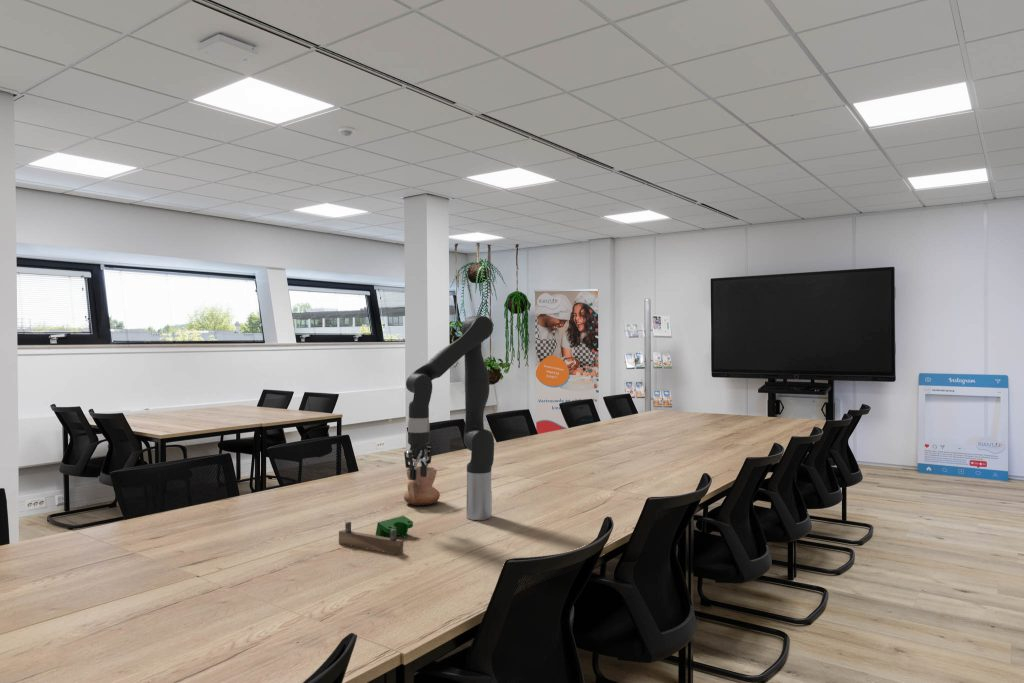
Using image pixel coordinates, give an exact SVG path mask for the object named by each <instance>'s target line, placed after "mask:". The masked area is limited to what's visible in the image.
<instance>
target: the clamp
mask: <svg viewBox="0 0 1024 683" xmlns="http://www.w3.org/2000/svg"><path fill="white" fill-rule="evenodd" d="M376 525H377V526H376V530H375V535H376V536H382V537H387V538H390V530H392V529H396V536H402V537H404V536H405V537H404V538H407V537H408V530H409V529H411V528H413V525H414V521H413V520H411V518H408V517H407V516H405V515H401V516H397V517H392V518H390V519H386V520H382V521H378V522H377V524H376ZM406 536H407V537H406Z"/></svg>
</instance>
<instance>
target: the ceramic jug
mask: <svg viewBox="0 0 1024 683" xmlns="http://www.w3.org/2000/svg"><path fill="white" fill-rule="evenodd" d="M420 466H421V465H419V466H418V465H417V468H416V469H417V471H416V480H411V479H410V469H409V468H406V470H405V471H406V476H407V479H408V481H407V491H406V492H405V493H404V494H403V500H404V501H405V502H406V503H407V504H410V505H412V506H420V505H422V506H430V505H433V504H435V503H436V502H438V500H440V497H441V494H440V491H439V490H438V489H437V488H435V487H433V485H434V481H435V480H436V476H437V471H438V468H437V467H435V466H429V465H428V466H427V476H426V477H421V476H420Z"/></svg>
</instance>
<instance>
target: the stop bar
mask: <svg viewBox="0 0 1024 683" xmlns="http://www.w3.org/2000/svg"><path fill="white" fill-rule="evenodd" d="M344 528H345V529H341V530H339V531H338V544H339V543H340V544H339V545H343V544H345V545H344V546H348V545H352V546H351V547H353V546H356V547H355V548H359V547H362V548H361V549H364V548H368V549H367V550H369V549H373V550H372V551H375V550H379V551H378V552H380V551H384V552H383V553H385V552H388V553H387V554H391V553H393V554H392V555H396V554H398V556H400V555H403V554H404V540H403V539H397V535H396V529H392V530H390V538H387V537H382V536H376V534H374V535H373V534H368V533H364V532H357V531H353V530H352V522H351V521H346V522H345V527H344ZM402 553H403V554H402Z"/></svg>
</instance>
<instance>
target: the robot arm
mask: <svg viewBox="0 0 1024 683" xmlns="http://www.w3.org/2000/svg"><path fill="white" fill-rule="evenodd" d="M493 331H494V324H493V321H492V319H490V318H489V317H488V316H485V315H471V316H468V317H467V318H465V320H463V323H462V326H461V333H462V335H461V336H460V337H459V338H458V339H456V340H454V341H452V342H451V343H450V344H448V345H446V346H445V347H444V348H442V349H441V350H439V351H438V352H437V353H436V354H435V355H434V356H432V358H430V360H428V362H426V363H425V364H423V365H422V366H419V368H417V369H416V370H414V371H413V372H412V373H410V375H409V376H408V377H407V378H406V382H405V386H406V389H407V390H408V391H409V392H410V393H412V394H413V398H412V400H411V401H410V402H409V404H408V421H407V444H408V445H409V446H410V447H409V450H406V451H404V454H403V455H404V463H405V468H406V469H410V479H411V480H416V471H417V469H416V468H417V467H418V464H419V466H420V476H421V477H426V476H427V466H429V464H431V462H432V455H433V447H432V446H428V445H429V444H430V402H431V398H432V393H433V380H435V379H438V378H440V377H442V376H443V375H445V373H447V371H448V370H450V369H451V368H452V366H454V364H456V363H457V362H458V361H459V360H460V359H461V358H462V357H464V394H465V395H464V396H465V398H464V399H465V402H464V403H465V404H464V405H465V409H464V410H465V418H464V419H465V421H464V429H463V430H464V431H463V443H464V445H465V448H466V449H467V450H469V451H470V452H471V455H470V461H469V462H468V463H467V464H466V518H467V519H468V520H472V521H484V520H489V519H491V518H492V512H493V510H492V509H493V508H492V507H493V505H492V504H493V499H492V498H493V492H492V469H493V468H492V466H493V464H494V461H495V460H494V457H495V438H494V435H493V433H492V432H491V431H490V430H488V429H485V427H484V425H485V424H484V414H485V408H486V405H487V403H488V400H489V397H490V396H489V395H490V374H489V371H488V368H487V364H486V362H485V360H484V357H483V353H482V351H483V350H482V342H484V341H486V340H488V338H490V337H491V335H492V334H493Z"/></svg>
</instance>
